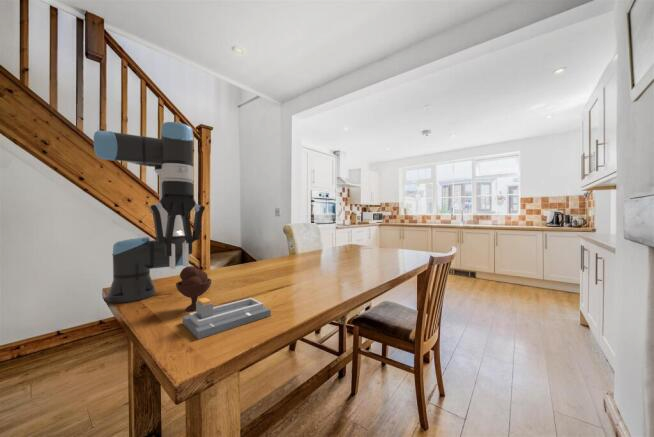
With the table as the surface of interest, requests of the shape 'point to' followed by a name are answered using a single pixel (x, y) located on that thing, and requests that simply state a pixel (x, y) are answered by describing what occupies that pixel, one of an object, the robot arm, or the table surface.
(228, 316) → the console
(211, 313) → the fader tab
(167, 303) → the table surface
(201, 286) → the ice cream bowl
